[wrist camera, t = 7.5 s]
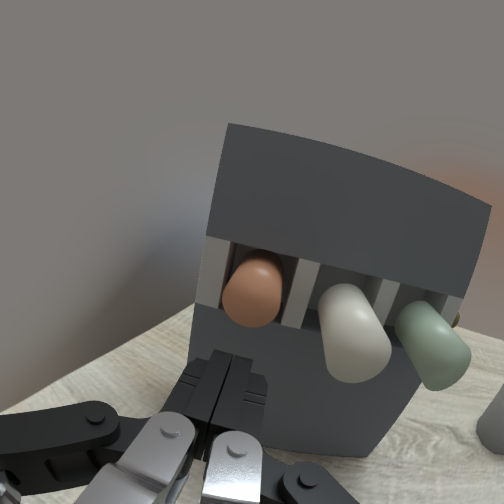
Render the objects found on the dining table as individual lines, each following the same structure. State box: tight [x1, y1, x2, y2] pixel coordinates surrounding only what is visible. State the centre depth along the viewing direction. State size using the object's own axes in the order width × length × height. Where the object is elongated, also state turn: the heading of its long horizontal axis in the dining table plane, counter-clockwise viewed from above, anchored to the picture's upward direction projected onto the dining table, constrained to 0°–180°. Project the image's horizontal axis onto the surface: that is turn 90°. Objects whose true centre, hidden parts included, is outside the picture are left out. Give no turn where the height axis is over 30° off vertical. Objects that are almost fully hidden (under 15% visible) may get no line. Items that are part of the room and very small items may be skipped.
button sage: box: [394, 301, 471, 391], centre depth 15 cm, size 6×3×3 cm, turn 172°
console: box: [187, 123, 492, 457], centre depth 22 cm, size 6×20×27 cm, turn 82°
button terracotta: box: [222, 249, 284, 328], centre depth 19 cm, size 6×3×3 cm, turn 172°
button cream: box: [318, 283, 392, 383], centre depth 16 cm, size 6×3×3 cm, turn 172°
